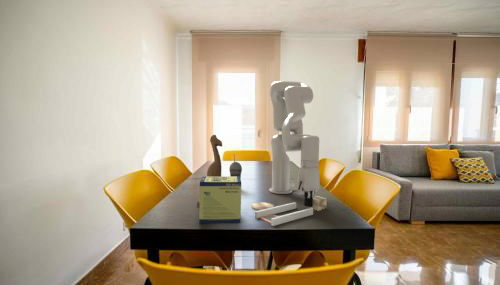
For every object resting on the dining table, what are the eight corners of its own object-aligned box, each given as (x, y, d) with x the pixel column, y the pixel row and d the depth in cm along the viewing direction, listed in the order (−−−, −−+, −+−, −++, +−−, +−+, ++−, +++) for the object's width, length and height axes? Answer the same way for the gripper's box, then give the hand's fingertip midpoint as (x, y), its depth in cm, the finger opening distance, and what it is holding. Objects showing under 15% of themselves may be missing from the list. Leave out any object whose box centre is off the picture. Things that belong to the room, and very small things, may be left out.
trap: (272, 214, 105) (272, 213, 105) (286, 220, 99) (286, 219, 98) (259, 218, 100) (259, 217, 100) (272, 224, 94) (272, 223, 94)
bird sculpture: (221, 209, 111) (224, 135, 109) (196, 206, 113) (198, 134, 112) (228, 202, 122) (231, 135, 120) (205, 200, 124) (208, 133, 123)
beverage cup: (237, 191, 142) (237, 155, 140) (226, 189, 145) (226, 154, 144) (244, 188, 148) (244, 154, 146) (233, 187, 152) (234, 153, 150)
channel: (294, 207, 114) (294, 202, 114) (313, 214, 106) (313, 208, 106) (255, 217, 101) (255, 211, 101) (272, 226, 93) (273, 219, 92)
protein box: (241, 223, 95) (241, 181, 94) (198, 223, 94) (198, 181, 93) (239, 213, 106) (240, 176, 105) (201, 214, 104) (201, 176, 103)
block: (315, 205, 119) (315, 195, 119) (326, 208, 114) (326, 198, 114) (306, 207, 115) (307, 197, 115) (317, 211, 110) (317, 200, 110)
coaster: (264, 202, 122) (264, 201, 121) (278, 207, 114) (278, 206, 113) (246, 206, 116) (246, 204, 116) (260, 212, 108) (261, 210, 108)
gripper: (314, 162, 118) (312, 201, 119) (290, 164, 109) (289, 207, 110) (327, 164, 112) (326, 205, 113) (304, 166, 103) (303, 211, 104)
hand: (308, 206), depth 112 cm, fingers closed
